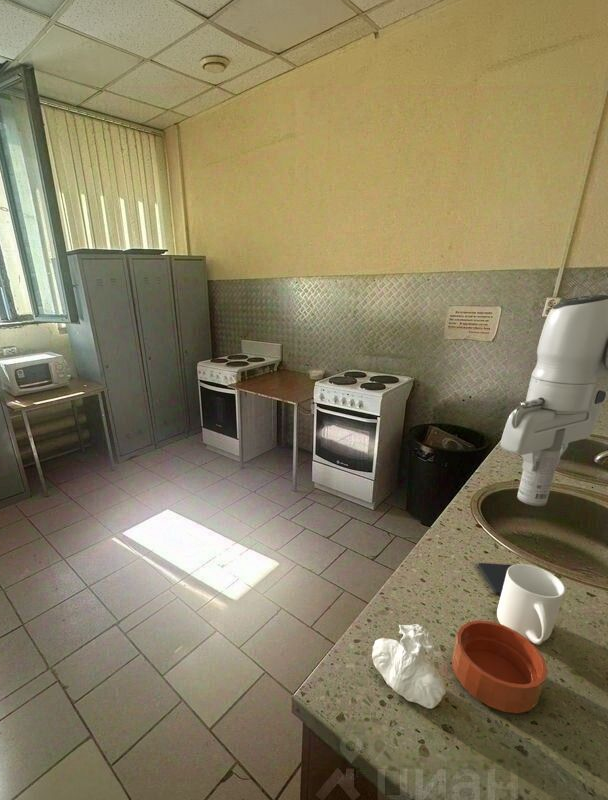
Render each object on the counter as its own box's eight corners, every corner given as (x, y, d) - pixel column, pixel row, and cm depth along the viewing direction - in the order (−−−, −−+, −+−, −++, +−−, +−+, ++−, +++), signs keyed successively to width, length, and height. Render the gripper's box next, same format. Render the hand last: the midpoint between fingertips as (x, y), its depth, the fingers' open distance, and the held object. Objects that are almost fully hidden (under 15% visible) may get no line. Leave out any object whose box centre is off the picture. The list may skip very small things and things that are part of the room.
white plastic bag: (441, 718, 61) (470, 650, 62) (426, 725, 56) (457, 651, 57) (373, 665, 70) (400, 607, 71) (355, 667, 65) (384, 604, 66)
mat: (520, 568, 89) (521, 565, 89) (542, 598, 80) (543, 595, 80) (478, 565, 90) (478, 562, 90) (495, 594, 82) (496, 591, 81)
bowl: (514, 649, 70) (522, 623, 68) (554, 720, 58) (565, 692, 56) (441, 642, 71) (446, 617, 69) (467, 710, 60) (474, 683, 58)
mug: (506, 653, 69) (520, 606, 65) (491, 603, 80) (501, 560, 76) (565, 666, 66) (582, 618, 63) (541, 612, 77) (554, 568, 73)
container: (546, 497, 76) (566, 424, 71) (546, 508, 72) (566, 432, 67) (517, 491, 79) (534, 420, 73) (516, 501, 75) (533, 427, 70)
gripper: (536, 408, 62) (518, 485, 67) (615, 391, 69) (593, 462, 74) (499, 398, 67) (484, 471, 72) (575, 383, 74) (557, 450, 79)
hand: (540, 466), depth 73 cm, fingers closed on container, 4 cm apart
